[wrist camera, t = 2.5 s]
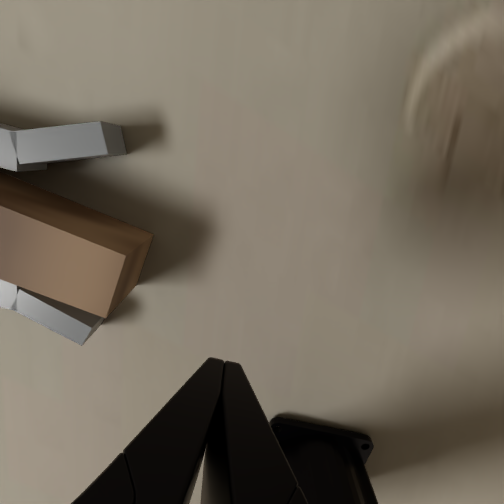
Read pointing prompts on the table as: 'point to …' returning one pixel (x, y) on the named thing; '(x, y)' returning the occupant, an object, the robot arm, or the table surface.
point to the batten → (67, 248)
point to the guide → (36, 158)
